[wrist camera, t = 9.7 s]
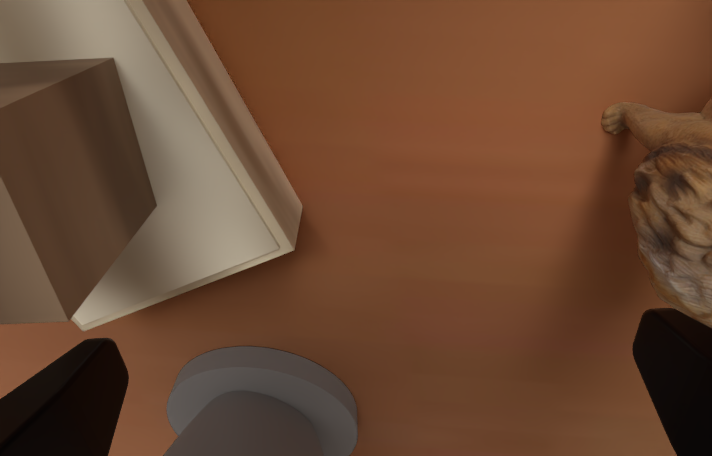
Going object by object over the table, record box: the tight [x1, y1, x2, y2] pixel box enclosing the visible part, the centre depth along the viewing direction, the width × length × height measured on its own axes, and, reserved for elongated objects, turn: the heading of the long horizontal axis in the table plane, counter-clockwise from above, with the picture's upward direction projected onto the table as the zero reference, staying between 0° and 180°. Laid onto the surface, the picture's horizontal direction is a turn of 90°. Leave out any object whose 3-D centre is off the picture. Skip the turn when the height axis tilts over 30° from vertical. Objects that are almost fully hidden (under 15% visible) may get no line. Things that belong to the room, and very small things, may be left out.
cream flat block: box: [0, 0, 303, 331], centre depth 17 cm, size 10×14×4 cm
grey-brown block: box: [0, 58, 157, 324], centre depth 13 cm, size 5×5×6 cm
